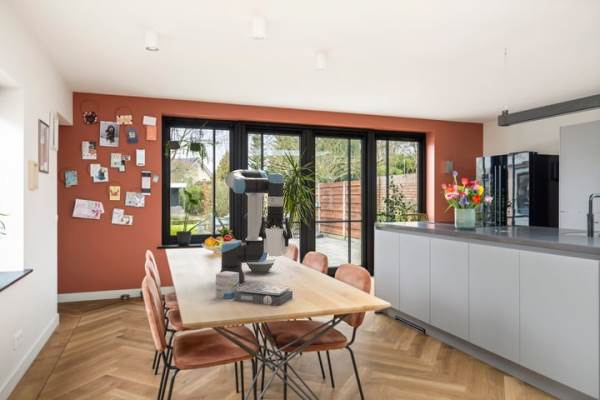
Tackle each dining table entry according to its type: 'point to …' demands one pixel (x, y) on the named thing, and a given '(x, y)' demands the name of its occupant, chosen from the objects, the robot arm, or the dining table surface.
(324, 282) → the dining table surface
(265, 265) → the bowl
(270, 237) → the foam cup
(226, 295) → the ink box
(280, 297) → the scale
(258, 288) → the plate
